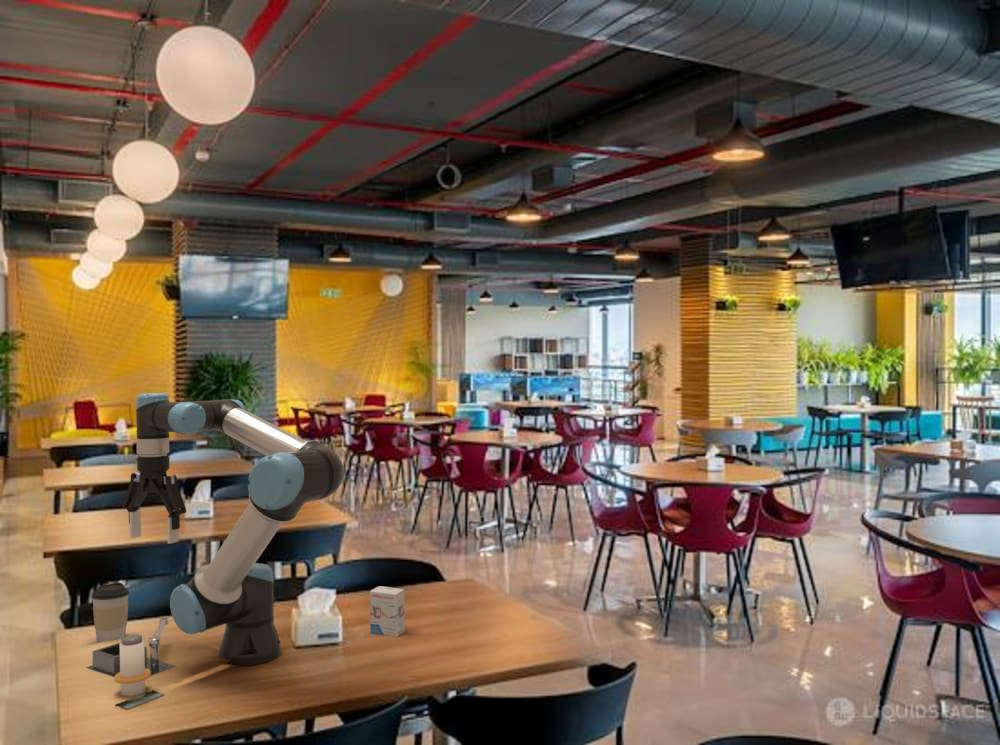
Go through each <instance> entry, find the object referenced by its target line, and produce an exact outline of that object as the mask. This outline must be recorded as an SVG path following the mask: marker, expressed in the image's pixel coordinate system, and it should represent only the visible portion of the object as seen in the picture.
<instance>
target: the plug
mask: <svg viewBox="0 0 1000 745" xmlns="http://www.w3.org/2000/svg"><path fill="white" fill-rule="evenodd" d="M120 639H121V643H120V642H119V643H120V672H119V673H117V674H116V675H115V677H114V682H115V683H116V684H117V683H118V684H120V695H121V696H123V697H131V698H129V699H126V700H125V701H133V700H138V699H141V698H143V697H144V696H145V695H146V694H145V693H146V692H145V691H146V680H147V679H148V678H150V677H151V676H150V670H149V669H147V668H145V651H144V647H145V639H143V635H141V634H129V635H125V636H124V637H122V638H120Z"/></svg>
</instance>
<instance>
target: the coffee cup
mask: <svg viewBox="0 0 1000 745" xmlns="http://www.w3.org/2000/svg"><path fill="white" fill-rule="evenodd" d="M129 590H130V589H129V588H128V587H126V586H125V585H124V584H123V583H122V582H118V581H117V582H116V581H115V582H113V583H109V584H103V585H99V586H98V587H96V589H95V591H93V592H91V594H92V595H91V599H92V602H93V603H92V604H93V606H92V612H93V622H94V629H95V636H96V644H101V643H103V642H108V641H117V640H119V639H122V638H123V637H125V636H127V635H126V634H127V633H126V632H127V626H128V613H129V595H130V592H129Z"/></svg>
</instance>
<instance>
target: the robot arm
mask: <svg viewBox="0 0 1000 745" xmlns="http://www.w3.org/2000/svg"><path fill="white" fill-rule="evenodd" d="M246 408H247V407H246V405H245V406H244V404H243V402H242V401H240V400H238V399H230V398H225V399H224V398H223V399H215V400H214V399H213V400H198V401H197V400H196V401H170V396H169V394H167V393H165V392H164V393H163V392H152V393H151V392H150V393H148V392H147V393H140V394H138V395H137V398H136V408H135V414H136V415H135V416H136V418H135V419H136V454H137V455H139V456H137V457H136V469H137V471H138V472H131V474H130V480H129V481H130V482H129V484H128V488H127V490H126V494H125V496H124V498H123V502H122V506H121V508H122V509H123V510H125V509H126V510H127V512H128V523H129V538H130V539H135V538H139V537H142V511H141V508H140V507H141V505H142V504H143V502H144V501H145V499H146V497H147V496H148V493H152V494H156V496H158V497H159V499H160V500H161V502H162V503H163V505H164V507H165V509H166V511H167V513H168V516H167V518H166V519H167V521H166V522H167V524H166V525H167V530H166V532H167V544H175V543H179V539H180V538H179V537H180V536H179V534H180V533H179V529H180V528H181V525H180V521H181V520H180V517H181V515H184V514H186V513H187V509H186V504H185V503H184V500H183V495H182V493H181V490H180V489H179V485H178V479H177V475H176V474H174V475H167V472H168V471H169V470H170V467H171V466H170V456H169V453H170V433H174V434H180V435H186V434H196V433H198V432H204V431H205V432H207V431H219V432H221V433H223V434H225V435H227V436H229V437H231V438H233V439H235V440H236V441H238V442H240V443H242V444H244V445H246V446H247V447H249V448H252V449H253V450H254V451H257V452H258V453H260V454H263V455H264V457H261V458H260V459H258V460H257V462H255V463H254V464H253V467H252V468H251V470H250V471H249V475H248V481H249V484H247V490H248V499H249V503H248V505H247V506H246V508H245V509H244V511H243V513H242V514H241V516H240V517H239V519H238V520H237V521H236V524H235V525H234V526H233V528H232V530H231V531H230V532H229V534H228V536H227V537H226V538H225V539H224V542H223V543H222V545H221V546H220V548H219V549H218V551H217V552H216V553H215V555H214V557H213V559H212V560H211V561H210V563H208V564H204V565H202V566H201V567H199V568H198V570H196V572H195V573H194V575H193V577H192V578H191V580H190V581H189V582H188V583H186V584H185V583H181V584H180V585H178V586H176V587H175V588H173V590H172V592H171V595H170V597H169V609H170V612H171V616H172V619H173V621H174V623H175V624H176V626H177V627H178V628H179V630H180V631H182V632H183V633H185V634H188V635H194V634H198V633H204V632H206V631H209V630H212V629H215V628H217V627H219V626H222V625H225V628H224V632H223V635H222V640H221V644H220V645H219V648H218V656H219V657H220V658H223V659H225V660H229V661H227V662H224V663H223V664H224V665H228V666H229V665H230V666H238V667H239V666H240V667H241V666H245V667H246V666H252V665H253V666H254V665H259V664H263V663H264V664H265V663H267V662H270V661H273V660H275V659H277V658H278V657H279V656H281V654H282V643H281V640H280V639H279V638H280V637H279V634H278V631H277V629H276V628H277V627H276V625H275V620H274V619H275V618H274V608H275V604H274V599H275V598H274V596H275V594H274V592H275V591H274V587H275V586H274V584H275V581H274V571H273V568H272V567H271V566H270V565H269V564H265V563H259V562H257V561H258V559H260V557H261V555H262V554H263V552H264V551H265V549H266V548H267V546H268V545H269V544H270V542H271V541H272V539H273V538H274V537H275V535H276V533H277V532H278V530H279V529H280V528H281V526H282V524H283V523H288V522H290V521H292V520H294V519H295V518H296V516H297V515H298V513H299V512H300V511H301V509H302V508H303V506H304V505H305V504H306V503H310V502H314V501H319V500H323V499H326V498H328V497H330V496H333V495H334V493H336V491H338V489H339V488H340V486H341V484H342V482H343V479H344V463H343V462H342V460H341V458H340V456H339V455H338V454H337V453H336V452H335V451H334V450H333V449H332V448H330V447H328V446H326V445H325V444H323V443H321V442H318V441H316V440H308V441H307V440H305V439H303V438H301V437H299V436H297V435H295V434H292V432H289V431H287V430H285V429H283V428H281V427H279V426H277V425H276V424H273V423H272V422H269V421H267V420H265V419H263V418H262V417H260V416H257V415H256V414H253V413H251V412H249V411H247V409H246Z"/></svg>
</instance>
